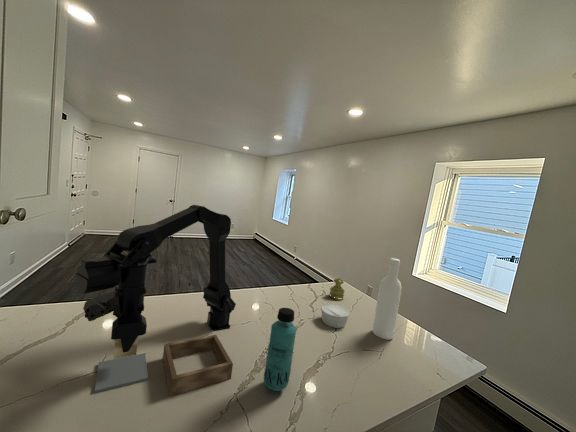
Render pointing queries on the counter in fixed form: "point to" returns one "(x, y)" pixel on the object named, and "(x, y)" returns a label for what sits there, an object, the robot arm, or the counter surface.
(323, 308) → the ramekin
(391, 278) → the bottle
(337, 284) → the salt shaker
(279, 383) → the beverage bottle
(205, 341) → the box
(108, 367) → the pad
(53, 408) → the counter surface
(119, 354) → the maple block
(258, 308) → the counter surface
